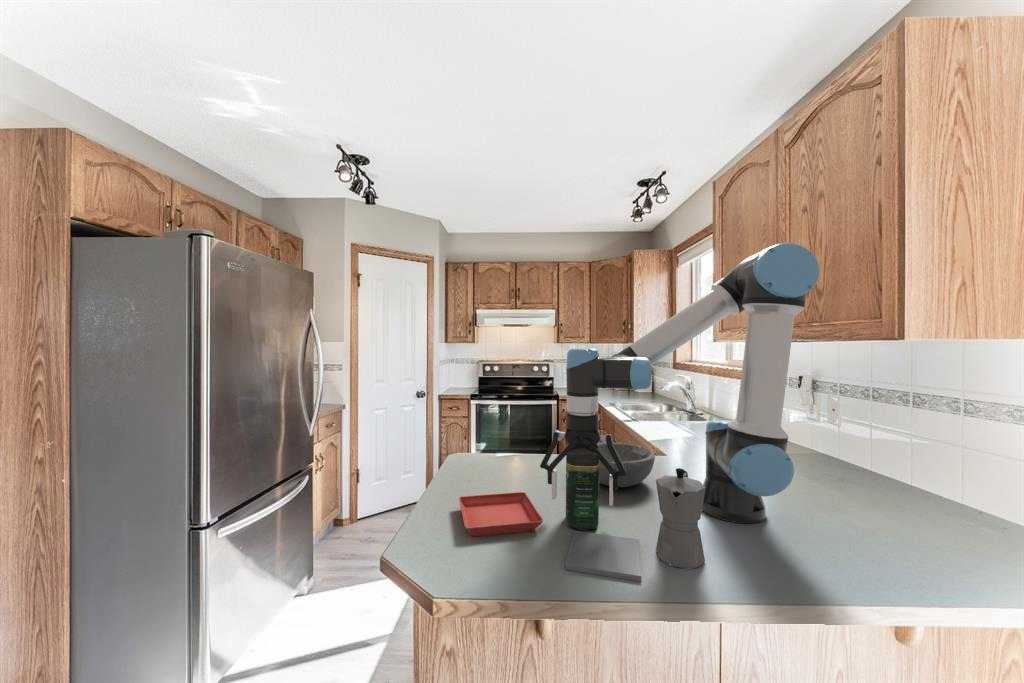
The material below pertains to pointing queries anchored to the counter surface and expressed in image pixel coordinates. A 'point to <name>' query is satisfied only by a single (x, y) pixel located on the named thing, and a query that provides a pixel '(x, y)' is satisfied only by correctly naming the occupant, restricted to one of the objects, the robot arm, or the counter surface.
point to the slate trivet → (605, 555)
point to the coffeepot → (680, 520)
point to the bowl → (628, 463)
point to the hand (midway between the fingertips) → (582, 500)
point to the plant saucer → (499, 513)
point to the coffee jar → (582, 488)
